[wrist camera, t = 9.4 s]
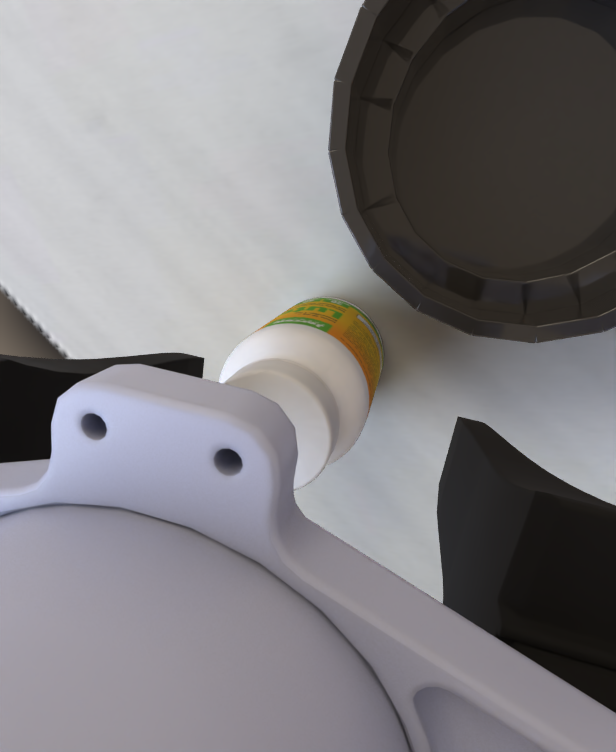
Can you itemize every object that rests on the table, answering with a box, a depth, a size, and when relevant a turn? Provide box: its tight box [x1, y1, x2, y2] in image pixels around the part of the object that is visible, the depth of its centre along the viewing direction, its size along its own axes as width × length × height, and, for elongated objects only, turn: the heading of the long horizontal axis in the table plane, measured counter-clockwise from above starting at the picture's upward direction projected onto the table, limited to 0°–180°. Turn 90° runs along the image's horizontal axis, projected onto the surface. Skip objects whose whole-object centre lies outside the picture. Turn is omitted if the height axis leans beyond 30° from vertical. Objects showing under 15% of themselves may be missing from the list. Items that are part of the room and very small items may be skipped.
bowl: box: [328, 0, 616, 343], centre depth 17 cm, size 13×13×5 cm
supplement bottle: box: [219, 297, 384, 490], centre depth 19 cm, size 5×5×10 cm
